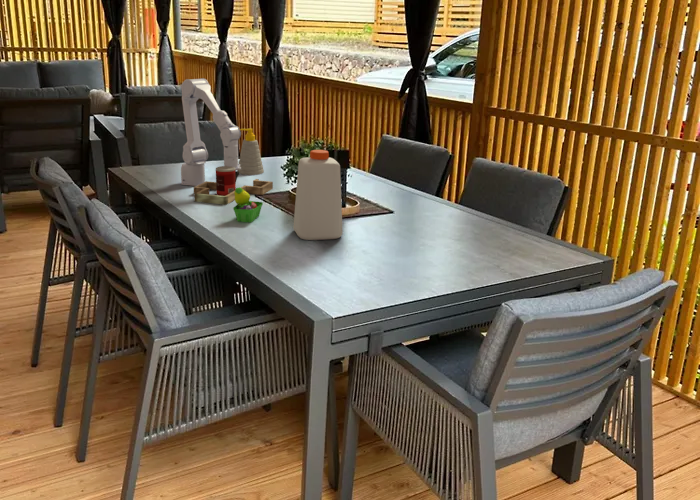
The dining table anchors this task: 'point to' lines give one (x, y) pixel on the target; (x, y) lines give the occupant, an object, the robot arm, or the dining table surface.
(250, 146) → the soap bottle
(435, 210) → the dining table surface
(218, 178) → the canned food
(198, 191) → the trap channel
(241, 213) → the fruit basket
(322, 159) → the plastic bottle
